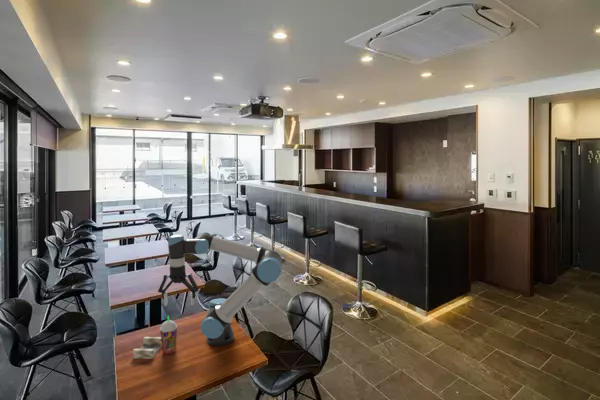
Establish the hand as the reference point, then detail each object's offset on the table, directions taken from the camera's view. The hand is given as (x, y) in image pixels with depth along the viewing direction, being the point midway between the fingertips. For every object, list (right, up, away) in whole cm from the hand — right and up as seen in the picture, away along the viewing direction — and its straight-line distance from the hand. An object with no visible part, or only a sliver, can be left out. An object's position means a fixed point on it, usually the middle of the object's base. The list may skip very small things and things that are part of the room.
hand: (179, 304), depth 175 cm
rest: (-18, -26, +3) cm, 31 cm away
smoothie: (-7, -26, +3) cm, 27 cm away
